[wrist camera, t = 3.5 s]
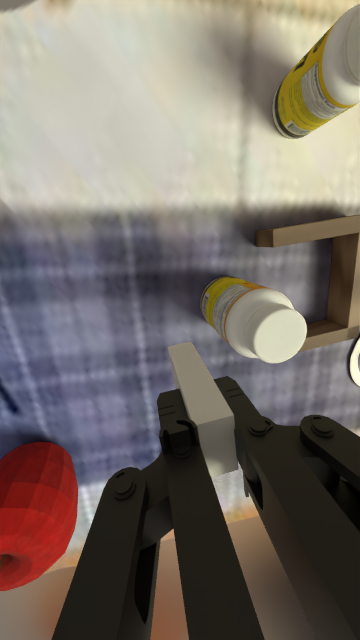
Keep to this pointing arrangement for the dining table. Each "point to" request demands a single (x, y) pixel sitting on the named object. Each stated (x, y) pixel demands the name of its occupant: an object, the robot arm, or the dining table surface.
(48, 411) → the dining table surface
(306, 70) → the supplement bottle
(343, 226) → the pocket
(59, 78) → the dining table surface
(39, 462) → the apple
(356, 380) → the candle holder
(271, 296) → the supplement bottle
